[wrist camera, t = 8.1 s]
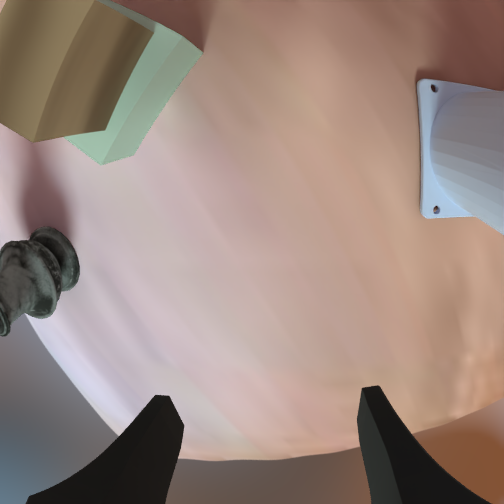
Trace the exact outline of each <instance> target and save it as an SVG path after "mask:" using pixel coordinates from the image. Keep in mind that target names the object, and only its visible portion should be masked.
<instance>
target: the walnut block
mask: <svg viewBox="0 0 504 504" xmlns="http://www.w3.org/2000/svg"><path fill="white" fill-rule="evenodd" d="M153 34H154V32H152V31H150V30H149V29H147V28H145V27H144V26H142V25H140V24H139V23H137V22H135V21H134V20H132V19H130V18H128V17H127V16H125V15H123V14H121V13H119V12H118V11H116V10H114V9H112V8H110V7H108V6H106V5H105V4H103V3H101V2H99V1H97V0H7V1H6V3H5V5H4V7H3V9H2V11H1V13H0V123H1V124H3V125H4V126H6V127H8V128H9V129H11V130H13V131H14V132H16V133H18V134H19V135H21V136H23V137H24V138H26V139H28V140H29V141H31V142H33V143H35V142H39V141H44V140H49V139H54V138H60V137H65V136H71V135H77V134H84V133H90V132H97V131H105V130H106V128H107V125H108V123H109V120H110V118H111V116H112V114H113V111H114V109H115V107H116V105H117V102H118V100H119V98H120V96H121V94H122V92H123V90H124V88H125V86H126V84H127V82H128V80H129V78H130V76H131V74H132V72H133V70H134V68H135V66H136V64H137V62H138V60H139V59H140V57H141V55H142V53H143V51H144V49H145V48H146V46H147V44H148V42H149V41H150V39H151V37H152V36H153Z"/></svg>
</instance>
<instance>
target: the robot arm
mask: <svg viewBox="0 0 504 504" xmlns="http://www.w3.org/2000/svg"><path fill="white" fill-rule="evenodd" d="M431 85H434V86H435V92H433V91H432V90H431ZM417 96H418V107H419V121H420V142H421V197H420V212H421V214H422V215H423V216H424V217H426V218H446V217H469V216H475V217H477V218H478V219H480V220H481V221H483V222H485V223H486V224H488V225H489V226H491V227H492V228H494V229H495V230H497V231H498V232H500V233H501V234H503V235H504V91H496V90H492V89H487V88H482V87H477V86H472V85H466V84H460V83H454V82H448V81H441V80H433V79H421V80H419V81H418V83H417ZM435 206H437V207H438V209H437V211H436V212H433V209H434V207H435ZM357 424H358V433H359V442H360V447H361V451H362V456H363V460H364V465H365V469H366V474H367V479H368V483H369V488H370V494H371V504H491V503H489V502H488V501H486V500H484V499H483V498H481V497H479V496H478V495H476V494H475V493H473V492H471V491H470V490H469V489H467V488H466V487H465V486H464V485H462V484H461V483H460V482H458V481H457V480H456V479H455V478H453V477H452V476H451V475H450V474H449V473H447V472H446V471H445V470H444V469H443V468H442V467H441V466H440V465H439V464H438V463H437V462H436V461H435V460H434V459H433V458H432V457H431V456H430V455H429V454H428V453H427V452H426V451H425V449H424V448H423V447H422V446H421V445H420V444H419V443H418V441H417V440H416V439H415V438H414V436H413V435H412V434H411V433H410V431H409V430H408V429H407V427H406V426H405V424H404V423H403V422H402V420H401V419H400V418H399V416H398V415H397V413H396V412H395V410H394V409H393V407H392V406H391V404H390V402H389V401H388V399H387V398H386V396H385V394H384V393H383V391H382V389H381V387H380V386H378V385H377V386H371V387H365V388H362V391H361V398H360V404H359V410H358V416H357ZM183 431H184V424H183V422H182V420H181V418H180V416H179V414H178V412H177V410H176V408H175V406H174V404H173V402H172V400H171V398H170V396H164V395H155V396H154V397H153V398H152V399H151V400H150V402H149V403H148V404H147V405H146V406H145V408H144V409H143V410H142V411H141V412H140V413H139V415H138V416H137V417H136V418H135V419H134V420H133V422H132V423H131V424H130V425H129V426H128V427H127V428H126V429H125V431H124V432H123V433H122V434H121V435H120V436H119V437H118V438H117V439H116V440H115V441H114V442H113V443H112V444H111V445H110V446H109V447H108V448H107V449H106V450H105V451H104V452H103V453H102V454H101V455H99V456H98V457H97V458H96V459H95V460H93V461H92V462H91V463H90V464H88V465H87V466H86V467H84V468H83V469H81V470H80V471H79V472H77V473H75V474H74V475H72V476H71V477H70V478H68V479H66V480H64V481H62V482H60V483H59V484H57V485H55V486H53V487H51V488H49V489H46V490H44V491H41V492H39V493H36V494H34V495H31V496H29V498H28V500H27V502H26V504H165V502H166V497H167V493H168V489H169V485H170V482H171V479H172V475H173V472H174V469H175V466H176V463H177V459H178V456H179V452H180V449H181V444H182V438H183Z"/></svg>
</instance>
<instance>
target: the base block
mask: <svg viewBox="0 0 504 504" xmlns="http://www.w3.org/2000/svg"><path fill="white" fill-rule="evenodd" d="M97 1H99V2H101V3H103V4H105V5H106V6H108V7H110V8H112V9H114V10H116V11H118V12H119V13H121V14H123V15H125V16H127V17H128V18H130V19H132V20H134V21H135V22H137V23H139V24H140V25H142V26H144V27H145V28H147V29H149V30H150V31H152V32H154V34H153V36H152V37H151V39H150V41H149V42H148V44H147V46H146V48H145V49H144V51H143V53H142V55H141V57H140V59H139V60H138V62H137V64H136V66H135V68H134V70H133V72H132V74H131V76H130V78H129V80H128V82H127V84H126V86H125V88H124V90H123V92H122V94H121V96H120V98H119V100H118V102H117V105H116V107H115V109H114V111H113V114H112V116H111V118H110V120H109V123H108V125H107V128H106V130H105V131H97V132H90V133H84V134H77V135H71V136H65V137H64V138H65V139H67V140H68V141H69V142H70V143H72V144H73V145H74V146H76V147H77V148H78V149H80V150H81V151H82V152H84V153H85V154H86V155H88V156H89V157H90V158H92V159H93V160H94V161H95V162H97V163H98V164H99V165H104V164H107V163H111V162H114V161H117V160H120V159H123V158H126V157H130V156H133V155H134V154H135V152H136V151H137V149H138V147H139V146H140V144H141V142H142V141H143V139H144V137H145V136H146V134H147V133H148V131H149V129H150V128H151V126H152V125H153V123H154V121H155V120H156V118H157V117H158V115H159V114H160V112H161V111H162V109H163V108H164V106H165V105H166V103H167V102H168V100H169V99H170V97H171V96H172V95H173V93H174V92H175V90H176V89H177V87H178V86H179V85H180V83H181V82H182V80H183V79H184V78H185V76H186V75H187V74H188V72H189V71H190V70H191V68H192V67H193V66H194V64H195V63H196V62H197V60H198V59H199V58H200V57H201V55H202V54H203V52H202V51H200V50H199V49H198V48H197V47H196V46H194V45H193V44H192V43H191V42H190V41H188V40H187V39H186V38H185V37H183V36H182V35H180V34H178V33H176V32H174V31H173V30H171V29H169V28H167V27H165V26H163V25H161V24H159V23H157V22H155V21H153V20H151V19H149V18H147V17H145V16H143V15H141V14H139V13H137V12H135V11H133V10H131V9H128V8H126V7H124V6H122V5H119V4H117V3H115V2H113V1H110V0H97Z"/></svg>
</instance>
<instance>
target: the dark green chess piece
mask: <svg viewBox="0 0 504 504" xmlns="http://www.w3.org/2000/svg"><path fill="white" fill-rule="evenodd" d="M79 275H80V266H79V262H78V257H77V255H76V253H75V250H74V248H73V247H72V245H71V243H70V242H69V240H68V239H67V238H66V237H65V236H64V235H63V234H62V233H60V232H59V231H57V230H56V229H53V228H51V227H41V228H39V229H36V230H35V231H34V232H33V233H32V235H31V237H30V240H21V241H10V242H8V243H6V244H5V245H4V246H3V247H2V248H1V250H0V336H7V335H8V334H9V333H10V325H11V324H12V323H13V322H14V321H15V320H16V319H17V318H18V317H20V316H21V315H22V314H23V313H26V314H28V315H30V316H32V317H35V318H39V319H43V318H48V317H49V316H51V315H52V314H53V312H54V311H55V309H56V305H57V301H58V300H59V297H60V294H61V291H68V290H70V289H72V288H73V287H74V286H75V285H76V283H77V282H78V278H79Z"/></svg>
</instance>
